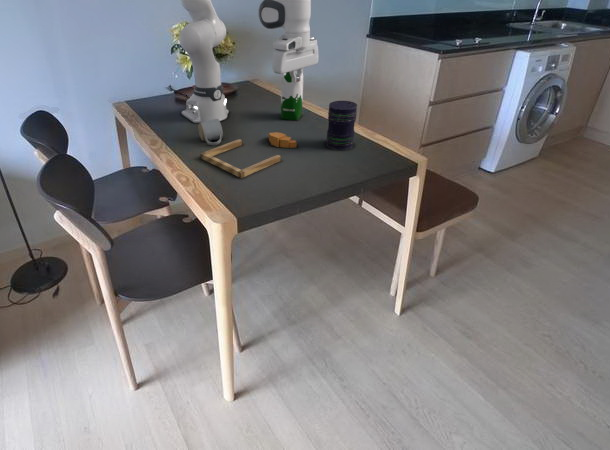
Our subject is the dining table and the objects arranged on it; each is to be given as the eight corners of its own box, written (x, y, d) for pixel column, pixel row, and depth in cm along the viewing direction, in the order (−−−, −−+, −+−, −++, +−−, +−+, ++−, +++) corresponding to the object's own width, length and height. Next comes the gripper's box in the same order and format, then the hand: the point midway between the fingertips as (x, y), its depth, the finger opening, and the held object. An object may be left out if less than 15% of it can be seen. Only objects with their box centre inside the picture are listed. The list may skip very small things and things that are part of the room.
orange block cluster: (261, 140, 159) (261, 132, 157) (272, 136, 162) (272, 127, 160) (287, 151, 150) (287, 141, 148) (298, 146, 153) (299, 137, 151)
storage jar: (336, 152, 148) (340, 111, 139) (320, 143, 155) (323, 103, 147) (359, 146, 151) (363, 106, 143) (342, 137, 158) (345, 98, 150)
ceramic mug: (198, 137, 163) (196, 119, 159) (218, 134, 165) (216, 115, 161) (205, 148, 155) (203, 128, 151) (226, 144, 157) (225, 125, 153)
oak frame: (201, 158, 147) (200, 153, 146) (239, 144, 157) (239, 138, 156) (241, 178, 133) (240, 172, 132) (280, 161, 143) (280, 155, 142)
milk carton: (279, 119, 178) (278, 71, 166) (284, 112, 185) (285, 66, 173) (298, 121, 175) (300, 72, 164) (303, 114, 182) (305, 67, 171)
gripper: (310, 35, 149) (308, 74, 156) (269, 43, 137) (269, 86, 145) (323, 36, 145) (321, 77, 152) (282, 46, 134) (282, 89, 141)
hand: (296, 81), depth 149 cm, fingers closed
